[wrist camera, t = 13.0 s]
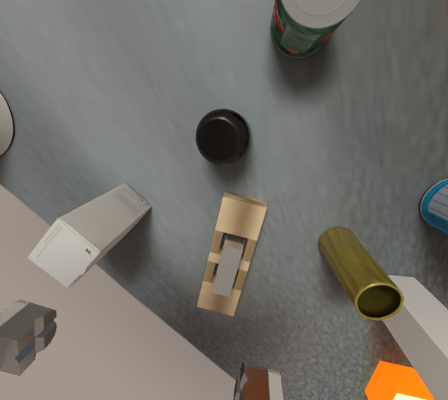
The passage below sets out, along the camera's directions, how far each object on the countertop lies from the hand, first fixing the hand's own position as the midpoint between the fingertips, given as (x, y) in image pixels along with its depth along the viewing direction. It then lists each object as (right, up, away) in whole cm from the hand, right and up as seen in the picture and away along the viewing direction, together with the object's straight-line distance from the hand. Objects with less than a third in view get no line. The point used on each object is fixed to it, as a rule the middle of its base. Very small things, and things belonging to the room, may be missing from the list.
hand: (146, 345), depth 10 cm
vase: (+22, -1, +31) cm, 38 cm away
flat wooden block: (+4, -3, +33) cm, 34 cm away
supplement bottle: (+4, +16, +27) cm, 32 cm away
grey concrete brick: (+4, -3, +34) cm, 34 cm away
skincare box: (-14, +4, +33) cm, 37 cm away
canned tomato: (+13, +30, +22) cm, 39 cm away
